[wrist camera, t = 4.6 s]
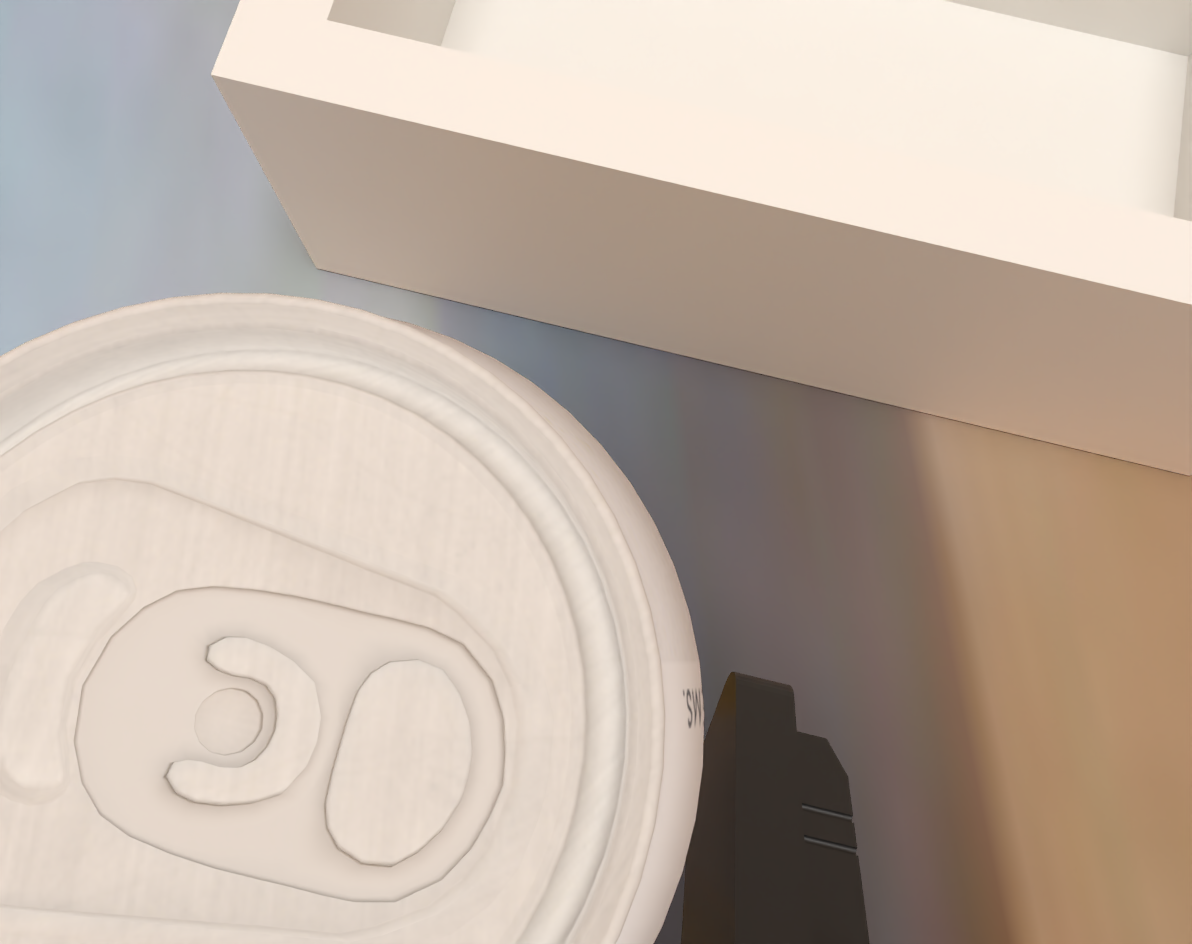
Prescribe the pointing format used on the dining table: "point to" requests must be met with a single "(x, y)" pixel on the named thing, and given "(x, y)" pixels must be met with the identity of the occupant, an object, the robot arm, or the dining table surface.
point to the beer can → (327, 643)
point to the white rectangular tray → (769, 186)
